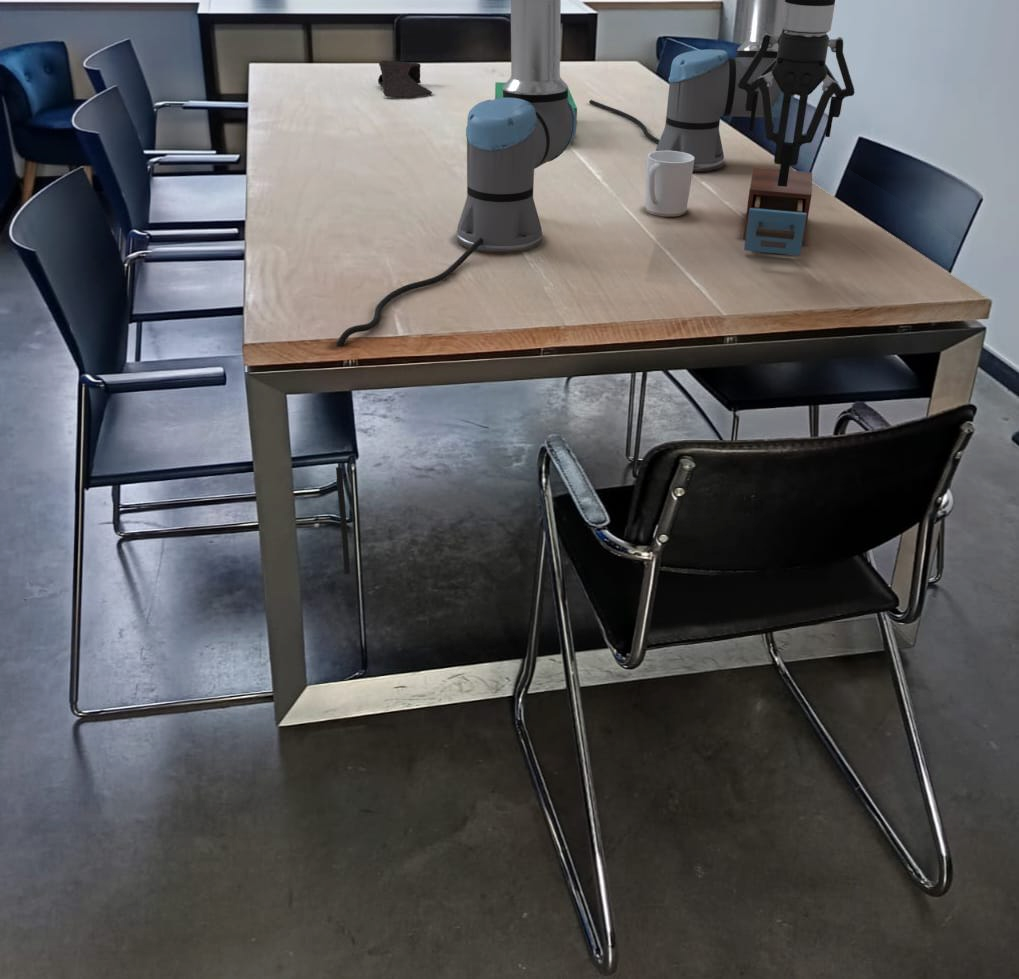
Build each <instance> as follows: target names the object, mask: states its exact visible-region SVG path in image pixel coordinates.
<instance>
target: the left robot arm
mask: <svg viewBox="0 0 1019 979" xmlns="http://www.w3.org/2000/svg"><path fill="white" fill-rule="evenodd" d="M561 3H562V2H561V0H510V50H511V51H510V64H511V66H510V67H511V68H510V69H511V72H510V73H511V74H510V78H509V79H508V80H507V81H506V82H505V83H506V84H505V85H504V86H503V98H495V97H494V99H486V100H482V101H481V102H478V103H477V104H475V105H474V106H472V107H471V109H470V110H469V111H468V115H467V120H466V121H467V122H466V128H465V137H466V192H467V193H466V198H465V202H464V205H463V209H462V211H461V214H460V218H459V220H458V224H457V228H456V241H457V243H458V244H459V245H461V246H462V247H464V248H466V249H467V250H466V251H465V252H464V253H463V254H462V255H460V257H459V258H457V260H455V262H453V263H452V264H451V265H450V266H449V267H448V268H447V269H446V270H445V271H443V272H442V273H439V274H438V275H435V276H434V277H431V278H427V279H424V280H419V281H415V282H412V283H409V284H405V285H403V286H401V287H399V288H396V289H395V290H393V291H391V292H390V293H388V294H387V295H386V296H385V297H383V298H382V299H381V300H380V301H379V302H378V304H377V305H376V306H375V308H374V309H375V310H374V316H373V318H372V320H371V321H369V322H368V323H363V324H357V325H353V326H351V327H348V328H347V329H345V330H344V331H343V332H342V334H341V335H340V336H339V337H338V340H337V342H336V344H335V347H336V348H341V347H343V346H344V344H345V342H346V341H347V339H348V338H350V336H351V335H354V334H356V333H360V332H361V333H362V332H367V331H371V330H372V329H374V328H375V327H376V326H377V325H378V324H379V322H380V320H381V315H382V311H383V309H384V308H385V307H386V306H387V305H388V303H389V302H391V301H392V300H393V299H395V298H397V297H398V296H400V295H402V294H404V293H407V292H409V291H413V290H416V289H419V288H420V289H421V288H424V287H428V286H431V285H434V284H437V283H439V282H441V281H443V280H444V279H447V278H448V277H449V276H451V274H453V273H454V272H455V271H456V270H457V269H458V268H459V267H460V266H462V264H463V263H464V262H465V261H466V260H467V259H468V258H469V257H470V256H471V255H472V254H473V253H474V252H479V253H486V254H497V255H499V254H500V255H506V254H507V255H508V254H517V253H524V252H527V251H530V250H533V249H536V248H538V247H539V246H540V245H541V244H542V243H543V229H542V224H541V221H540V220H541V219H540V218H539V214H538V213H539V212H538V210H537V206H536V204H535V199H534V183H535V181H534V180H535V170H536V169H537V168H539V167H541V166H543V165H544V164H546V163H550V162H552V161H554V160H556V159H557V158H559V157H560V156H561V155H562V154H563V153H564V152H565V151H566V150H567V149H569V147H570V146H571V144H572V142H573V140H574V139H575V136H576V132H577V124H578V120H577V119H576V114H575V110H574V108H573V106H572V105H571V104H570V102H569V100H568V88H569V86H568V84H567V83H566V82H565V80H563V79H562V77H561V10H562V9H561V6H562V4H561ZM835 5H836V0H785V3H784V10H783V17H782V24H781V28H782V29H783V30H785V31H784V32H782V34H780V39H779V46H778V53H777V60H776V63H775V64H774V66H773V68H772V71H771V72H769V73H767V74H766V75H764V76H762V75H761V76H759V77H758V80H757V85H758V87H759V89H760V91H761V93H762V100H763V110H764V118H763V119H764V120H763V121H764V128H765V129H764V130H765V138H766V140H767V141H771V142H773V143H775V150H774V158H773V163H774V165H779V170H780V172H779V179H778V186H784V187H787V181H788V175H789V171H790V169H791V168H790V167H791V166H797V164H798V162H799V156H800V151H801V150H800V149H801V147H802V145H804V144H810V143H812V142H813V141H814V138H815V136H816V133H817V131H818V128H819V126H820V123H821V122H822V119H823V116H824V113H825V111H826V108H827V106H828V104H829V103H830V102H829V101H830V100H831V96H834V95H835V94H834V93H835V92H836V91H837V89H838V87H839V86H840V85H839V86H838V84H839V82H838V80H833V79H831V78H830V77H829V76H828V75H827V69H826V66H825V64H826V63H827V62H826V61H827V57H828V56H827V54H828V49H829V46H828V43H829V39H830V36H829V35H828V34H827V33H829V32H830V31H831V30H832V24H833V18H834V11H835V7H836V6H835ZM773 78H774V79H775V81H776V82H777V84H778V86H779V88H780V90H781V91H782V93H784V96H783V103H782V109H781V116H780V117H779V123H778V130H777V132H776V131H775V125H774V124H775V123H774V117H773V114H772V103H771V93H770V87H771V86H772V79H773ZM822 82H823V85H821V83H822ZM820 85H821V86H822V87H821V91H822V93H821V95H820V98H819V100H818V103H817V106H816V108H815V110H814V113H813V115H812V118H811V120H810V123H809V125H808V128H807V130H806V133H803V130H804V125H805V116H806V112H807V111H806V110H807V104H808V98H809V96H810V95H811V94H812V93H813V92H814V91H815V90H816V89H817V88H818V87H819V86H820ZM791 95H794V96H799V99H798V106H797V112H796V119H795V124H794V133H793V139H792V142H790V141H789V142H786V134H787V129H788V128H787V127H788V120H789V114H790V108H791V106H790V101H791ZM335 474H336V486H337V487H336V488H337V497H338V499H337V500H338V508H339V520H340V530H341V532H340V533H341V544H342V557H343V558H342V560H343V572H344V575H349V574H350V573H351V565H350V550H349V549H350V548H349V536H348V524H347V512H346V511H347V510H346V501H345V500H346V499H345V487H344V474H343V467H339V466H336V467H335Z"/></svg>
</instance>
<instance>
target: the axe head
mask: <svg viewBox="0 0 1019 979" xmlns="http://www.w3.org/2000/svg"><path fill="white" fill-rule="evenodd" d="M378 66H379V68H380V72H381V74H379V75H378V79H377V84H378V85H379V86H380V87H381V88H382V89H383V95H384V96H385V97H388V98H394V99H395V98H396V99H403V98H405V99H406V98H407V99H411V98H418V97H425V96H429V95H432V94H433V91H431V90H430V89H428V88H427V87H425V86H422V85H421V84H422V82H421V63H419V62H410V61H408V62H407V61H397V60H388V59H387V60H380V61H379V62H378Z"/></svg>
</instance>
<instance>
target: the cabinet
mask: <svg viewBox="0 0 1019 979" xmlns="http://www.w3.org/2000/svg"><path fill="white" fill-rule="evenodd" d="M779 172H780V169H778V168H777V169H775V168H763V167H754V168H753V171H752V176H751V181H750V184H749V185H750V186H749V192H748V199H747V208H746V213H745V221H744V229H743V236H742V239H743V240H746V232H747V225H748V218H749V210H750V208H754V207H755V202H756V196H757V195H767V196H778V197H789V198H801V199H803V206H802V213H807V216H806V222H805V228H804V234H803V240H802V245H804V243H805V238H806V237H805V236H806V231H807V225H808V219H809V215H810V214H809V213H810V209H811V208H810V206H811V201H812V196H813V193H812V192H813V172H812V171H811V172H810V171H801V170H800V171H799V170H789V175H788V181H787V187H784V186H778V179H779Z"/></svg>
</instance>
